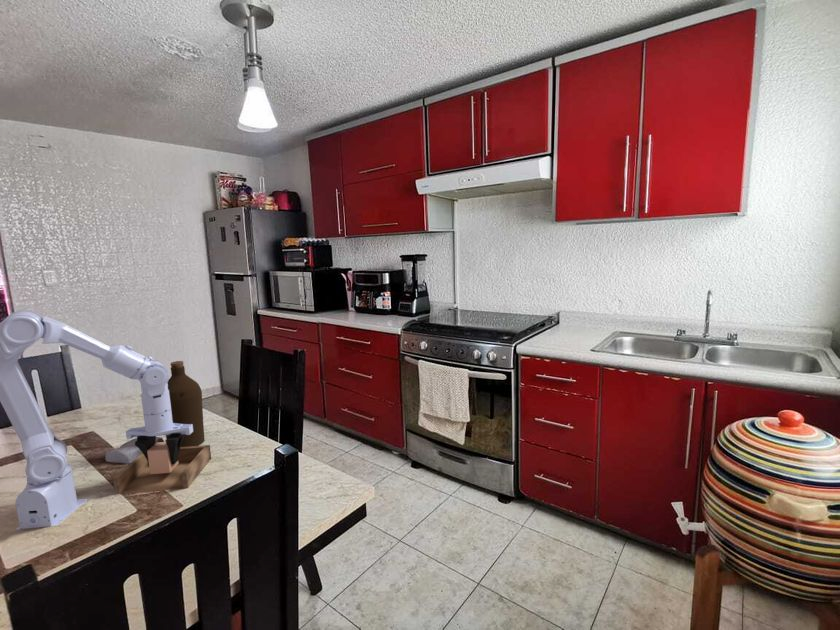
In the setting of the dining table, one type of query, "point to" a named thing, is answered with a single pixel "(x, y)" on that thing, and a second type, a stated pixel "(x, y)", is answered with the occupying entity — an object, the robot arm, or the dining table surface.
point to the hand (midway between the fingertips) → (164, 463)
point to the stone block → (126, 452)
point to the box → (180, 477)
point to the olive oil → (186, 404)
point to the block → (160, 459)
